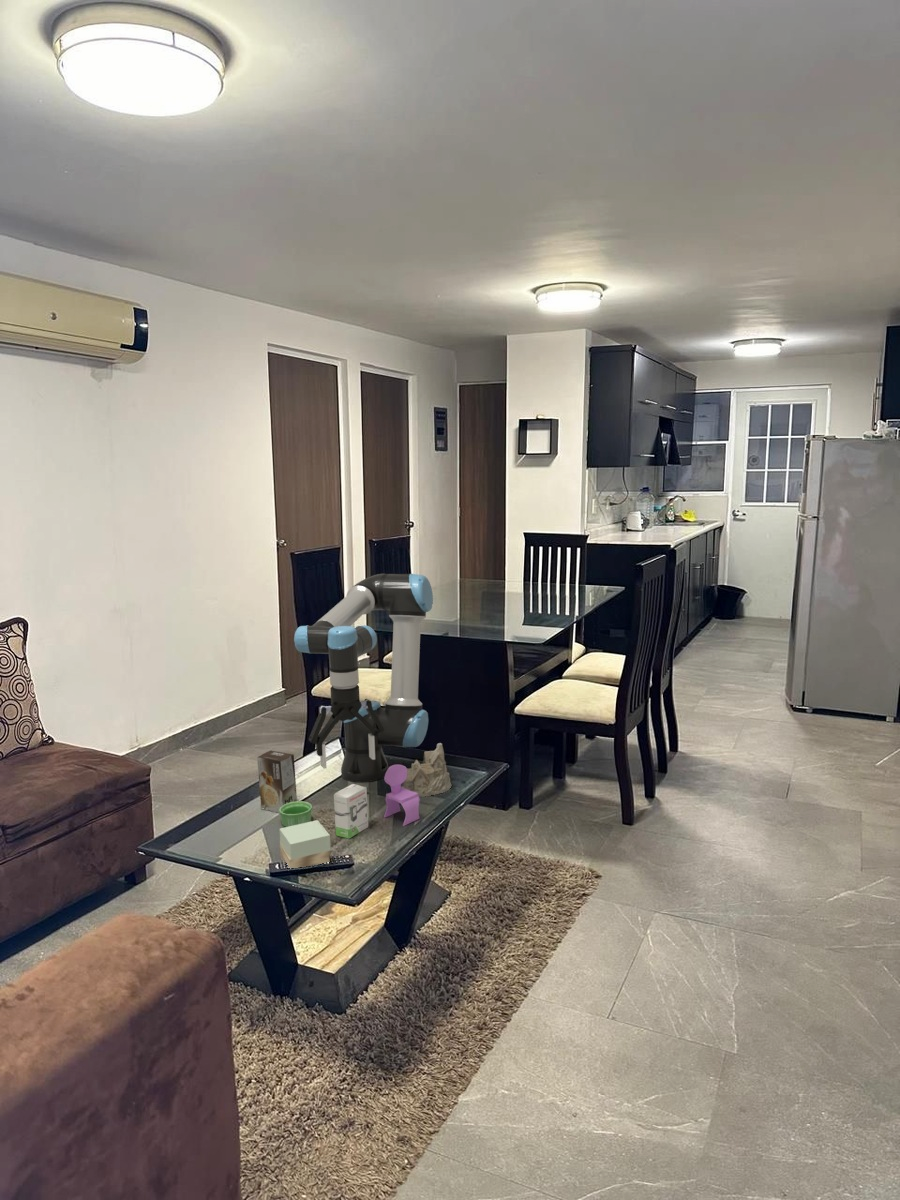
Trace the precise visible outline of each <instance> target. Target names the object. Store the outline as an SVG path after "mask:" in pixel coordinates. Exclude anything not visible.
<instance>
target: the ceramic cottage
mask: <svg viewBox="0 0 900 1200" xmlns="http://www.w3.org/2000/svg"><path fill="white" fill-rule="evenodd" d="M423 752H424V753H423V758H422V759H423V760H422V763H420V762H419V760H418V759H415V761H414V763H411V767H410V768H407V777H406V780H405V781H404V782H403V783H402V784H401V788H405V789H408V790H410V791H413V792H416V793H418V797H419V798H420V797H421V798H422V797H425V796H426V797H432V796H431V795H434V796H436V795H435V794H439V793H443V792H445V791H447V790H449V789H450V788H451V786H452V783H451V778H450V772H448V768H447V763H446V760H445V751H444V747H443V743H441V742H439V743H437V744H436V748H435V749H434V750H429V751H428V750H427V751H423ZM451 789H452V788H451ZM451 789H450V790H451ZM450 790H449V791H450Z"/></svg>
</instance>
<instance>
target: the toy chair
mask: <svg viewBox="0 0 900 1200" xmlns="http://www.w3.org/2000/svg"><path fill="white" fill-rule="evenodd" d="M407 769H408V768H407V767H406V766H405V765H403V764H393V765H390V766H388V770H387V772H386V774H385V777H383V778H384V782H385V783H386V784H387V785H389V787H390V789H391V792H388V793H386V794H385V796H386V797H385V803H386V810H385V812H384V815H383V816H382V817H383V819H386V818H387V817H390V816H392V815H394V814H397V813H399V812H401V806H402V808H403V810H404V812H405V813H404V814H405V818H404V821H403V823H402V826H403V827H404V826H406V825H410V824H411V823H413V822H415V821H417V820H419V819H421V818H420V813H419V806H420V797H419V796H418V793H416V792H413V791H410V790H408V789H405V788H401V786H402V785H403V784H402V783H403V782H404V781H405V780H406V777H407ZM400 804H401V806H400Z"/></svg>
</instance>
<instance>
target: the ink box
mask: <svg viewBox="0 0 900 1200" xmlns="http://www.w3.org/2000/svg"><path fill="white" fill-rule="evenodd" d="M367 790H368V789H367V786H362V785H359V784H355V783H351V784H350V785H347V786H346V787H344V788H342V789H340V790H338V791H336V792H335V793H334V794H333V804H334V805H333V806H334V807H333V808H334V822H335V823H334V826H335V835H336V836H337V837H342V838H344V839H351V838H352V837H354V836H355V835H357V834H359V833H361V832H362V831H364V830H366V829H367V828H369V816H368V815H369V813H368V810H369V809H368V794H367V793H368V791H367Z"/></svg>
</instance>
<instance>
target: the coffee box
mask: <svg viewBox="0 0 900 1200" xmlns="http://www.w3.org/2000/svg"><path fill="white" fill-rule="evenodd" d="M294 755H295V754H293V753H287V752H282V751H281V752H280V751H275V750H268V751H266V752H264V753H262V754H261V755H259V756H257V757H256V761H257V773H258V784H259V785H258V786H259V796H260V809H261V808H264V809H267V810H266V811H268V810H270V812H274V813H278V814H280V812H279V809H280V807H281V806H283V805H284V804H287V803H290V802H296V801H298V798H297V797H298V796H297V782H296V769H295V768H296V767H295V756H294Z"/></svg>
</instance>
